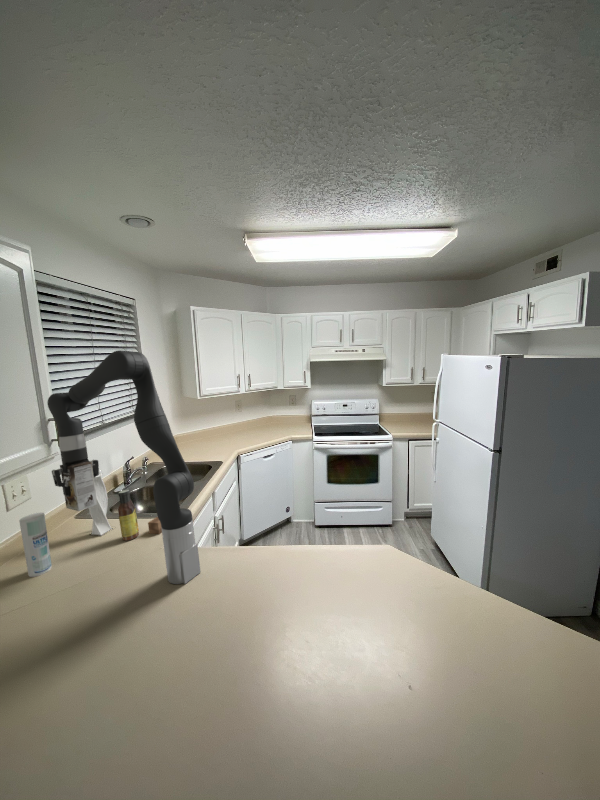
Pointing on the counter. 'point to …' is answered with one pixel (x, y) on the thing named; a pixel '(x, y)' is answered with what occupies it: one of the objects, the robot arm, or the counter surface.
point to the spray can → (35, 544)
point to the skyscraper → (100, 508)
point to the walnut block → (155, 526)
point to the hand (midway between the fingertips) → (80, 492)
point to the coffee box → (80, 486)
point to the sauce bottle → (127, 516)
